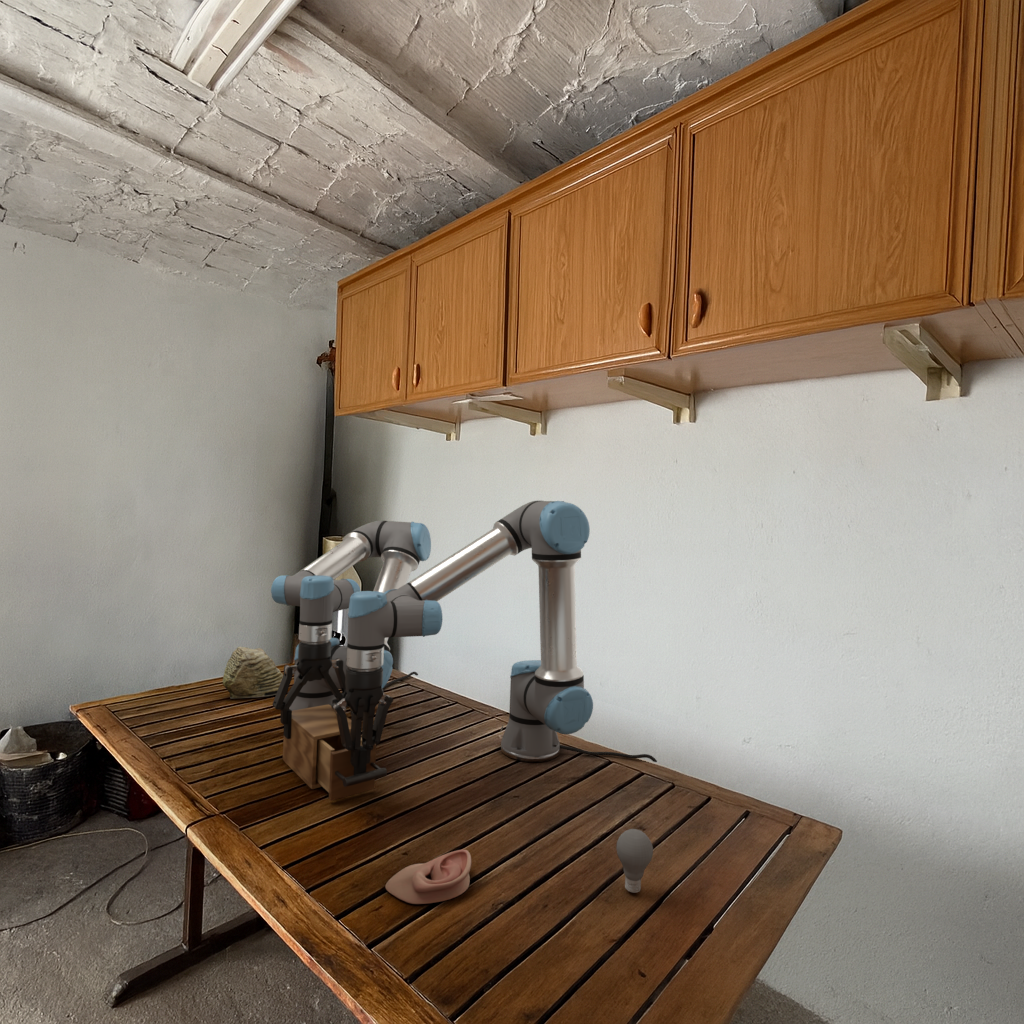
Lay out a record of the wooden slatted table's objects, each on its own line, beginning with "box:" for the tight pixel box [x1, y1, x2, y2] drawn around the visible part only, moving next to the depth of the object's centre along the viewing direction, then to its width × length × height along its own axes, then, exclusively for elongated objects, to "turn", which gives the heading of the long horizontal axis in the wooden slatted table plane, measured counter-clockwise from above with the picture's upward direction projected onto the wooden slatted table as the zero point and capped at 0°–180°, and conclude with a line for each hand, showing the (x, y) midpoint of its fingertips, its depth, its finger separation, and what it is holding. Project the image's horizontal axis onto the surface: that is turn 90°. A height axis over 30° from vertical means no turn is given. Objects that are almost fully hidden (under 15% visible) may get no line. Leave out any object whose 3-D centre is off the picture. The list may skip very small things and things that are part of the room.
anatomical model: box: [385, 849, 472, 905], centre depth 105 cm, size 13×4×12 cm
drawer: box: [316, 733, 388, 801], centre depth 138 cm, size 23×10×10 cm, turn 39°
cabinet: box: [282, 704, 351, 790], centre depth 147 cm, size 18×11×12 cm, turn 39°
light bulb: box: [615, 828, 654, 894], centre depth 106 cm, size 6×6×10 cm
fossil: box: [222, 646, 284, 699], centre depth 198 cm, size 9×18×15 cm, turn 132°
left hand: (311, 732), depth 152 cm, fingers closed on cabinet, 11 cm apart
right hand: (359, 779), depth 131 cm, fingers closed
